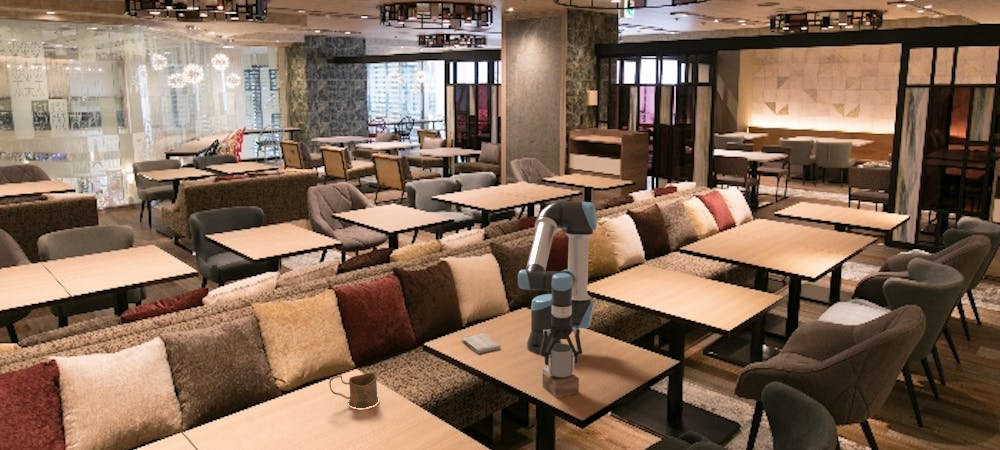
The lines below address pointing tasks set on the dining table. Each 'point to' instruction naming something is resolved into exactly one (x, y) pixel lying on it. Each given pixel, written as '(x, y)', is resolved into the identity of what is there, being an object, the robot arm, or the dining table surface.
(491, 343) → the washcloth
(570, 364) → the cup
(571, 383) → the walnut block
